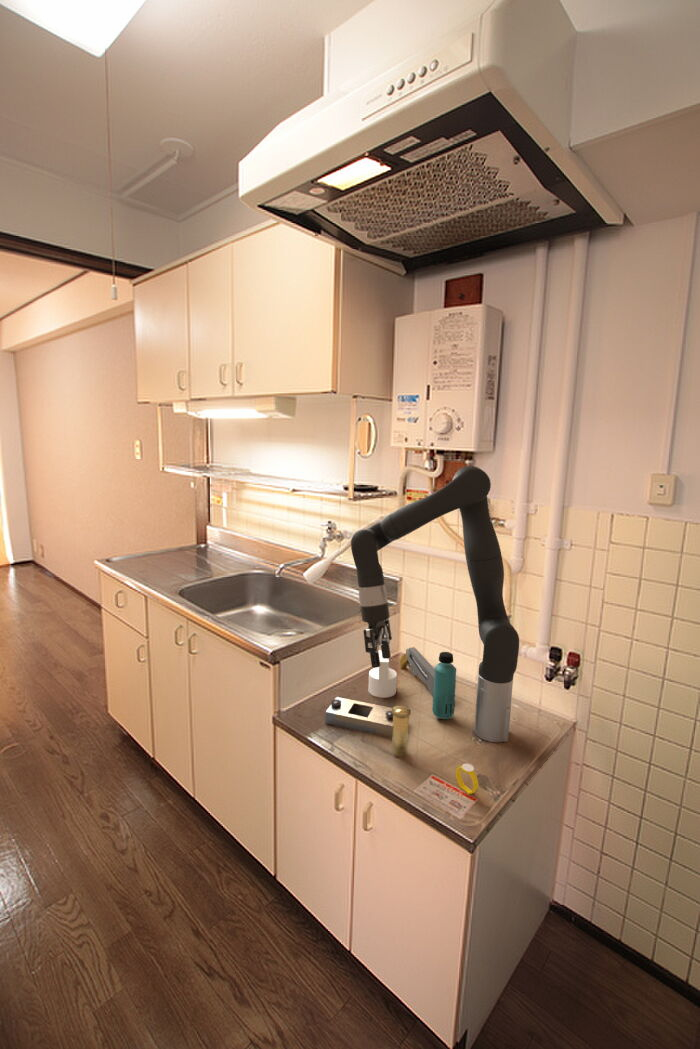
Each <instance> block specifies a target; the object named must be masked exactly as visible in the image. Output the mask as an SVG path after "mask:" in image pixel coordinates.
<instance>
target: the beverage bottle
mask: <svg viewBox="0 0 700 1049" xmlns="http://www.w3.org/2000/svg"><path fill="white" fill-rule="evenodd" d="M438 661H439V662H438V663H437V664H436V665H435V666H434V669H435V676H434V690H433V696H432V704H431V707H432V710H431V712H432V713H433V715H434V716H435V717H436V718H439V719H443V720H447V719H452V718H453V716H454V714H455V709H456V706H455V705H456V699H455V698H456V686H457V668H456V666H454V664H453V662H454V654H453V653H451V652H449V651H441V652H440V653H439V656H438Z"/></svg>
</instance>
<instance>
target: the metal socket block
mask: <svg viewBox="0 0 700 1049" xmlns="http://www.w3.org/2000/svg"><path fill="white" fill-rule="evenodd" d="M392 708H393V707H388V706H383V705H379V704H373V703H369V702H363V701H359V700H354V699H349V698H343V697H341V696H340V697H339V696H336V697H335V698H334V699H332V700H331V704H330V705H329V707H328V708H327V709H326V711H325V720H324V721H325V724H327V725H331V726H335V727H341V728H343V729H348V730H353V731H358V732H362V733H367V734H371V735H377V736H381V737H386V738H390V739H392V733H393V714H392Z"/></svg>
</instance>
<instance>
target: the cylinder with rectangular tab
mask: <svg viewBox="0 0 700 1049" xmlns="http://www.w3.org/2000/svg"><path fill="white" fill-rule="evenodd" d="M379 658H380V667H372V668H371V669H370V670H369V672H368V688H367V689H368V690H367V691H368V693H370V695H372V696H374V697H376V698H391V697H393V696H395V695H396V692H397V681H398V680H397V679H398V678H397V677H398V675H397V674H398V673H397V671H396V670H394V669H392V668H390V666H389V665H390V661H389V659H390V658H389V659H384V658H383V657H382V651H381V649H379Z"/></svg>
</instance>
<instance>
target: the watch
mask: <svg viewBox="0 0 700 1049" xmlns="http://www.w3.org/2000/svg"><path fill="white" fill-rule="evenodd" d="M455 770H456V772H455V777H456V781H457V785H458V786H459V788H461V789H462V790H463V791H464V792H465V793H467V795H472V794H474V793H476V792H477V791H478V788H479V780H478V776H477V774H476V773H475V768H474V766H473V765H472V764H471V763H463V764H462V765H460V766H458V767H457V768H456V769H455ZM462 772H463V773H465V774H468V775H469V776H470V778H471V782H472V789H471V788H470V787H468V786H467V785H466V784H465V783H464V781H463V777H462Z"/></svg>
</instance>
